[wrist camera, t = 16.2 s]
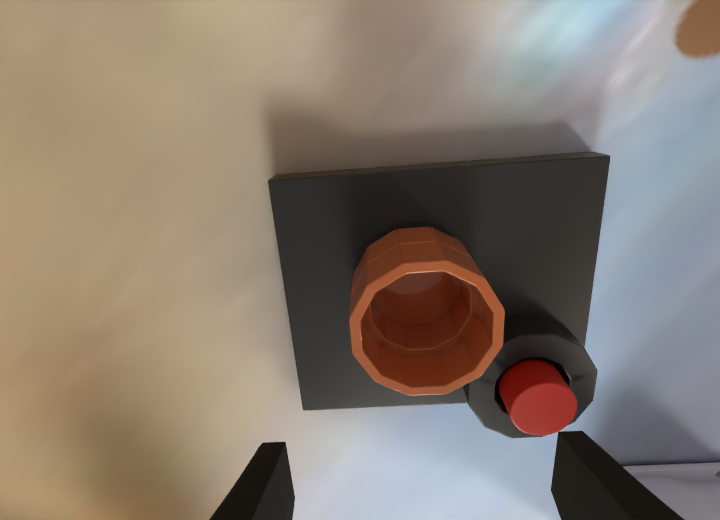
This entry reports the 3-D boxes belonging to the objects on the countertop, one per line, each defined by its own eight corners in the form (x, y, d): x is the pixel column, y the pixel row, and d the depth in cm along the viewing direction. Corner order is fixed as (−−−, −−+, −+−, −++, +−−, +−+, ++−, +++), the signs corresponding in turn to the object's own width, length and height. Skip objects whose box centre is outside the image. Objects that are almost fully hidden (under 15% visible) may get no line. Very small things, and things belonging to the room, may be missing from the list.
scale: (593, 151, 18) (634, 160, 15) (564, 393, 23) (591, 435, 20) (274, 174, 19) (257, 187, 16) (308, 405, 23) (300, 447, 20)
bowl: (475, 219, 18) (508, 256, 14) (472, 329, 20) (500, 391, 16) (349, 227, 18) (343, 266, 14) (359, 336, 20) (356, 398, 16)
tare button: (563, 356, 19) (581, 381, 17) (557, 406, 20) (574, 434, 18) (500, 360, 19) (512, 384, 17) (497, 409, 20) (508, 437, 18)
